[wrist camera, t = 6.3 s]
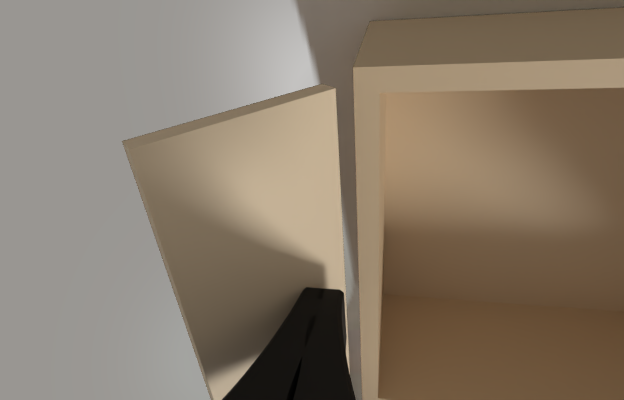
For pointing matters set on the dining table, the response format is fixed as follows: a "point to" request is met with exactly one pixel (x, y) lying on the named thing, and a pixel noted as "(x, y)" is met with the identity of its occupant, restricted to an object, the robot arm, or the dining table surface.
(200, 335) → the flap
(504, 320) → the carton
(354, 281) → the dining table surface
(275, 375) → the robot arm
